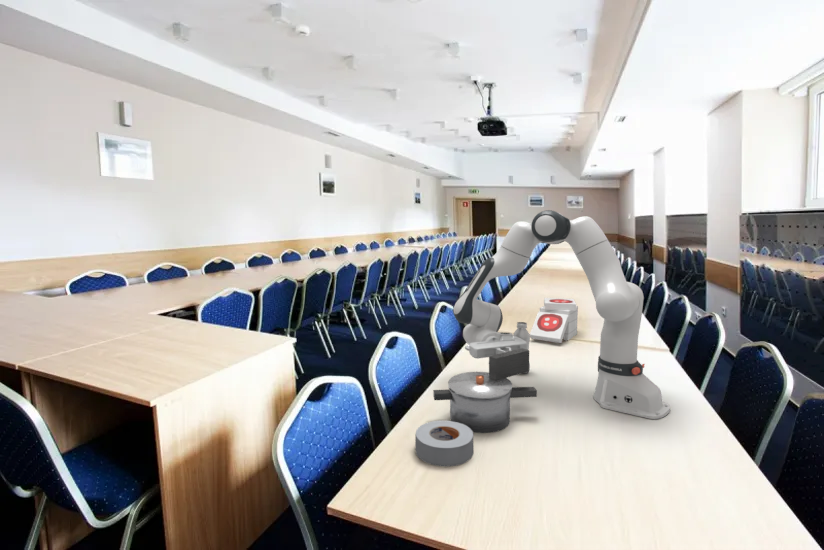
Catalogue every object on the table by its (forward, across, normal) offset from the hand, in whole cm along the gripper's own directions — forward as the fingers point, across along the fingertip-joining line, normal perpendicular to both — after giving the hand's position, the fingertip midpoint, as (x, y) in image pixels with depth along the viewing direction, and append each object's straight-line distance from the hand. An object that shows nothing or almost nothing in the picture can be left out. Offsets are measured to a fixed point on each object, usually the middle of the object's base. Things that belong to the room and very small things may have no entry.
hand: (509, 354), depth 141 cm
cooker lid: (+6, -9, +6) cm, 13 cm away
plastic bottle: (-24, +19, +17) cm, 35 cm away
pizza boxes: (-62, +62, +17) cm, 89 cm away
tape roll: (+20, -31, +17) cm, 41 cm away
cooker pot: (+7, -13, +16) cm, 22 cm away
